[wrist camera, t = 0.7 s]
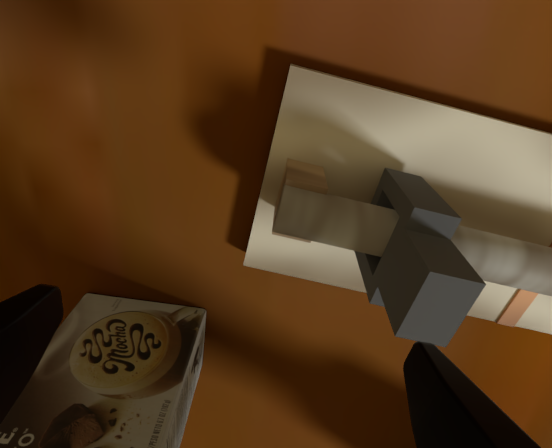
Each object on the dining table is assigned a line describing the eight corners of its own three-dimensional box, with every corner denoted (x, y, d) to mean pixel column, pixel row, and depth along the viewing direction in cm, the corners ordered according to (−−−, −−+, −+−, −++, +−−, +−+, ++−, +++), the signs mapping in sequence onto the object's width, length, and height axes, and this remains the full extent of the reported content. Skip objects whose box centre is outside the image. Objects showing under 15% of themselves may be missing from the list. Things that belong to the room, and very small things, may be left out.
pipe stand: (594, 331, 26) (674, 407, 20) (246, 252, 24) (232, 313, 18) (730, 180, 20) (887, 230, 15) (290, 63, 18) (289, 72, 13)
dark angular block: (385, 254, 21) (434, 365, 14) (353, 247, 21) (384, 354, 13) (421, 176, 18) (501, 260, 11) (385, 167, 18) (443, 246, 11)
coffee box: (93, 351, 29) (-104, 656, 14) (85, 289, 26) (-172, 595, 12) (204, 366, 29) (118, 681, 15) (209, 307, 26) (107, 627, 12)
